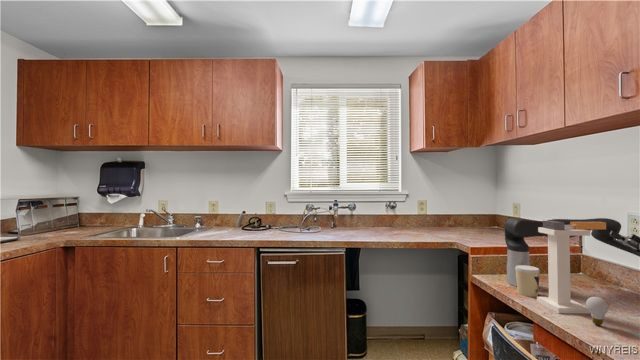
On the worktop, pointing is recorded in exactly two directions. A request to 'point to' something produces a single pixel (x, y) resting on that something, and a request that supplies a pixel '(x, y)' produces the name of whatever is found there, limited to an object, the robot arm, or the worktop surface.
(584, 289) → the worktop surface
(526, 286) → the coffee cup
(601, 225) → the putter
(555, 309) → the white pedestal stand
